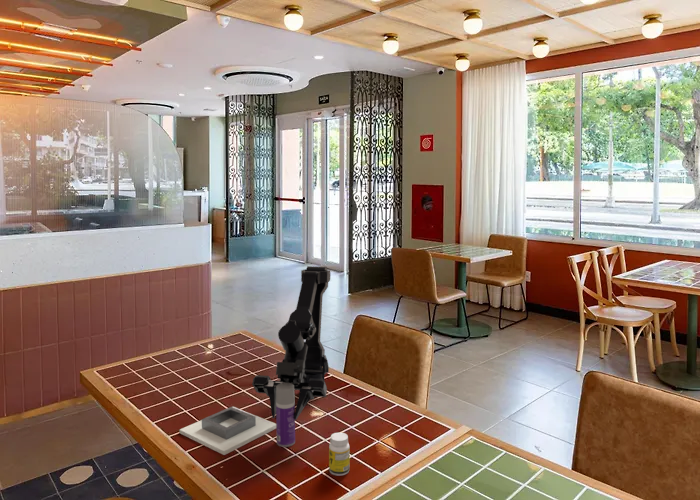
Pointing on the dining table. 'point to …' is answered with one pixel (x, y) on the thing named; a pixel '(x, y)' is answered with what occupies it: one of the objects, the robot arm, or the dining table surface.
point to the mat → (232, 443)
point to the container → (285, 414)
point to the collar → (227, 432)
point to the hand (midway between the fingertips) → (284, 418)
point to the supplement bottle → (339, 454)
